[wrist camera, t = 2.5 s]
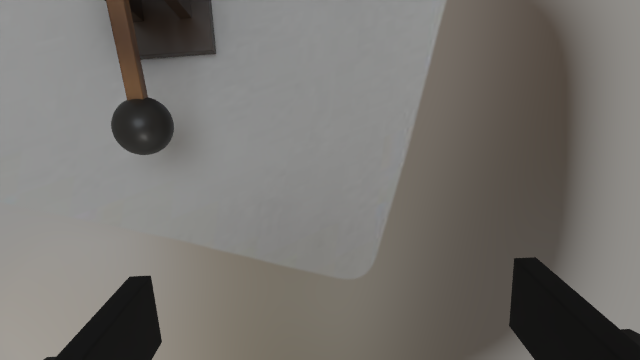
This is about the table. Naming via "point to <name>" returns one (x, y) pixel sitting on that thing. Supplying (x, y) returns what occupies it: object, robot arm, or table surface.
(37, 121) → the table surface
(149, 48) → the rod bracket
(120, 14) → the lever
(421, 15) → the table surface
